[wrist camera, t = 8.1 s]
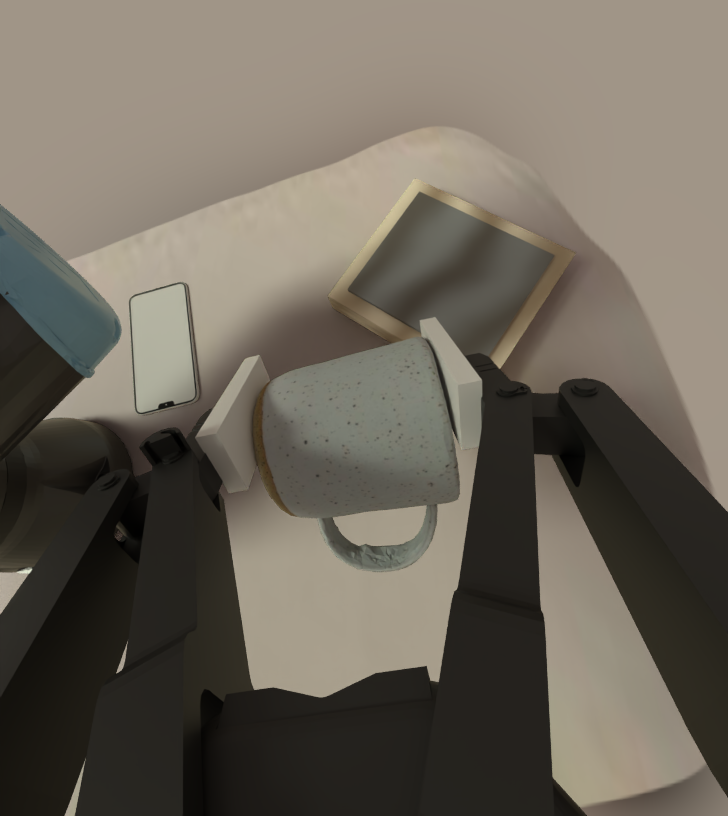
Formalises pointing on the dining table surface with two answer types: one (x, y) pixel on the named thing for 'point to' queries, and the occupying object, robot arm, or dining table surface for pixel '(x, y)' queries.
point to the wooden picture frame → (450, 274)
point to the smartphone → (162, 349)
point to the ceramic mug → (359, 445)
